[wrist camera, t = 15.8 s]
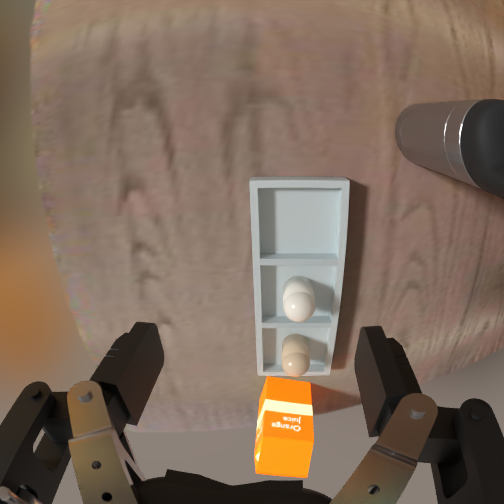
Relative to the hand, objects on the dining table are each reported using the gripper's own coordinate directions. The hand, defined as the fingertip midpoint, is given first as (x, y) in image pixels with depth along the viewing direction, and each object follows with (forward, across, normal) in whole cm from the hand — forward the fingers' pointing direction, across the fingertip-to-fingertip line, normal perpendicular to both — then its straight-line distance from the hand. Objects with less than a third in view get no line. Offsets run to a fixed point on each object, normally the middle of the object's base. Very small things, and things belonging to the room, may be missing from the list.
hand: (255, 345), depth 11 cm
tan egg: (+32, -3, +27) cm, 42 cm away
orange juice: (+33, -2, +41) cm, 53 cm away
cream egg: (+32, -3, +16) cm, 36 cm away
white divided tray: (+33, -3, +16) cm, 37 cm away
